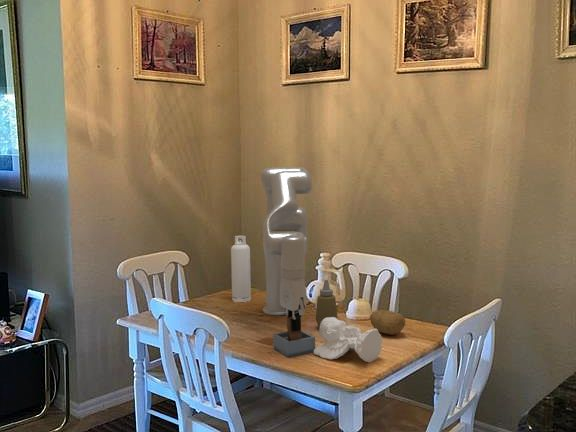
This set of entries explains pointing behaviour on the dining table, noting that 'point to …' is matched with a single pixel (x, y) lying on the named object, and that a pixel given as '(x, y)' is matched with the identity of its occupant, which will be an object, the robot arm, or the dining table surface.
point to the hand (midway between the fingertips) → (293, 329)
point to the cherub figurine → (347, 340)
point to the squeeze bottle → (325, 304)
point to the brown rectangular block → (291, 334)
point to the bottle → (240, 270)
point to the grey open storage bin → (293, 344)
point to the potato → (387, 321)
